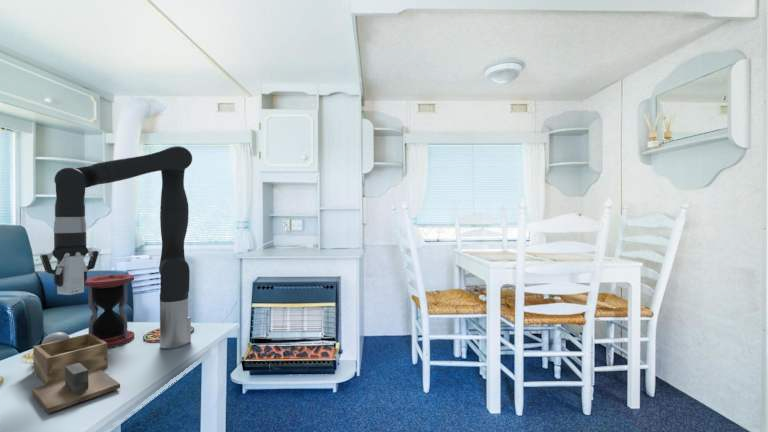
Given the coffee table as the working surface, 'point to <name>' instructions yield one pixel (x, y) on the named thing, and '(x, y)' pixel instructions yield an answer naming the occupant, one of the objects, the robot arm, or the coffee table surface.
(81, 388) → the lid
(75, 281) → the skincare box
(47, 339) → the round bodied animal figurine
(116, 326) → the hourglass
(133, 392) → the coffee table surface
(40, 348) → the open wooden box
